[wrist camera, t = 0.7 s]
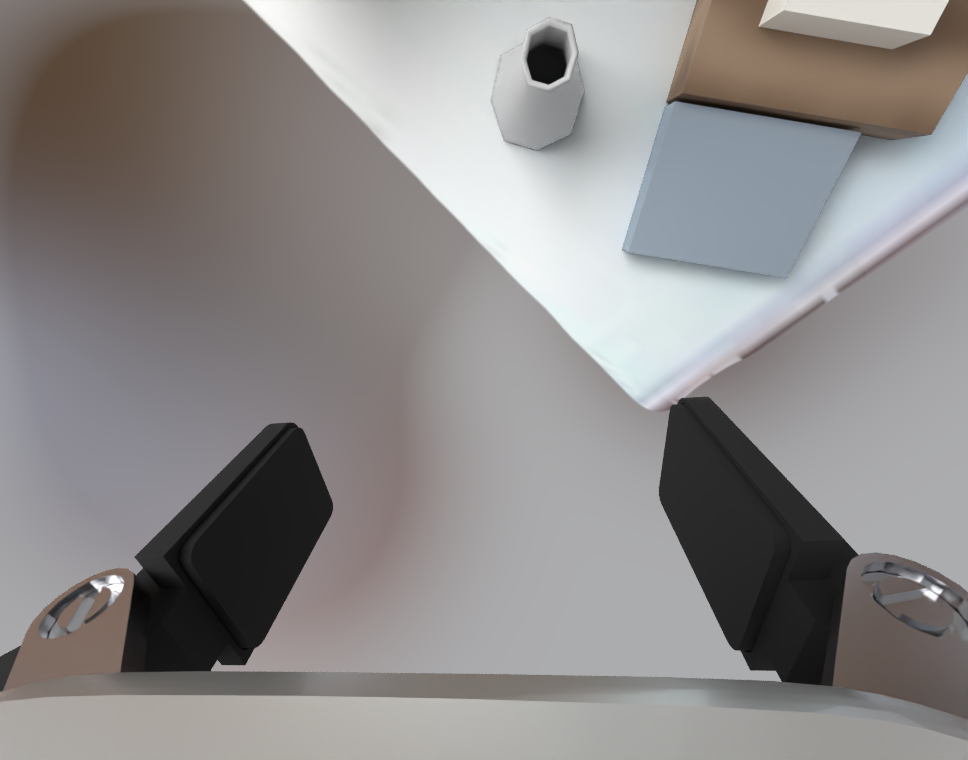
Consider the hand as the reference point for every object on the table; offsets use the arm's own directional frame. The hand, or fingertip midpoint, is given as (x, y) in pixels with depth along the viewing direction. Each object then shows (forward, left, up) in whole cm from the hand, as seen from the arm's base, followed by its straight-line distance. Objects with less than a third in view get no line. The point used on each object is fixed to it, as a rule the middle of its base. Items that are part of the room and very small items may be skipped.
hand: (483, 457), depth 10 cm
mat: (-8, +18, -29) cm, 35 cm away
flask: (-13, +1, -29) cm, 32 cm away
